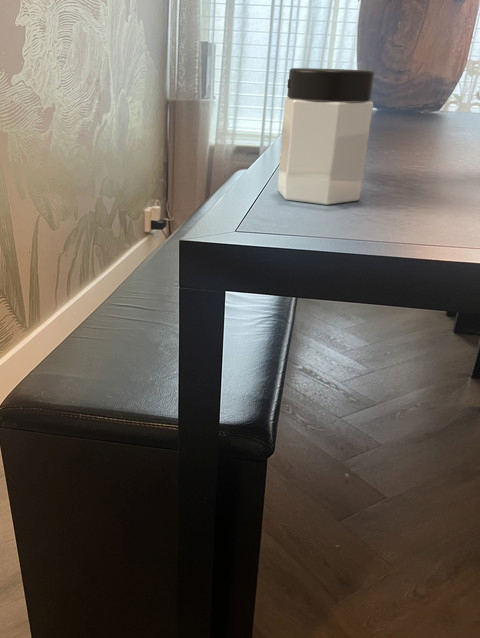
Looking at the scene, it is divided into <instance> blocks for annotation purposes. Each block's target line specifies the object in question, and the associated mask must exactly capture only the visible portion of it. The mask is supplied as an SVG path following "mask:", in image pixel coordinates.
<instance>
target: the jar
mask: <svg viewBox="0 0 480 638" xmlns="http://www.w3.org/2000/svg"><path fill="white" fill-rule="evenodd" d="M374 77H375V71H373V70H367V69H365V70H364V69H346V68H345V69H344V68H316V67H315V68H313V67H311V68H310V67H293V68H290V69H289V73H288V79H287V84H286V85H287V94H286V95H287V96H285V98H284V107H283V117H282V118H283V119H282V120H283V121H282V129H281V130H282V131H281V143H280V154H279V168H278V181H277V191H278V193H280V194H281V196H282V197H283V198H284V199H285V201H294V202H301V203H308V204H309V203H311V204H318V205H326V206H329V205H336V204H342V203H343V204H344V203H351V202H357V201H359V200H360V199H361V192H362V186H363V179H364V178H363V177H364V171H365V164H366V157H367V152H368V144H369V138H370V132H371V131H370V130H371V124H372V118H373V110H374V101H371V98H372V91H373V83H374Z"/></svg>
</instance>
